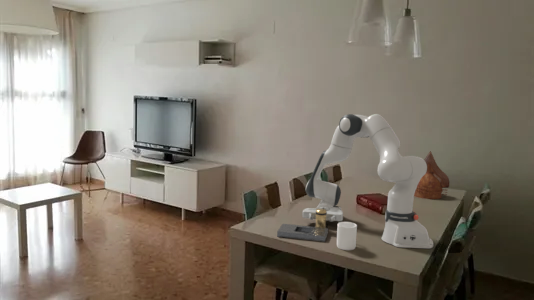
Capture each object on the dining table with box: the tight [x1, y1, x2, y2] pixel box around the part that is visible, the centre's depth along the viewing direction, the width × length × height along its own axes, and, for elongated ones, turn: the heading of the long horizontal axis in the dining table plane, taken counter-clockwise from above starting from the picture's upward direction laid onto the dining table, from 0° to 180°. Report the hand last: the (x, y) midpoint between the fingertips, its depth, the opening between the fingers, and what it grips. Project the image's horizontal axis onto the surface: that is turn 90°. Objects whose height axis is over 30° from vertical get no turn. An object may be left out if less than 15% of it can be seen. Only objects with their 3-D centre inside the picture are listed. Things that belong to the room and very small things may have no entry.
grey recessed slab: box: [276, 223, 329, 242], centre depth 205 cm, size 22×12×2 cm, turn 76°
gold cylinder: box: [314, 208, 327, 228], centre depth 212 cm, size 5×5×10 cm
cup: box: [336, 221, 358, 251], centre depth 192 cm, size 8×12×10 cm
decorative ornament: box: [414, 151, 450, 200], centre depth 286 cm, size 26×19×30 cm
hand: (320, 219), depth 212 cm, fingers open, 8 cm apart
